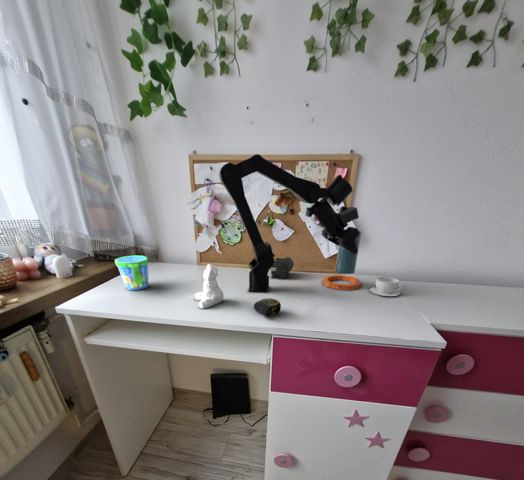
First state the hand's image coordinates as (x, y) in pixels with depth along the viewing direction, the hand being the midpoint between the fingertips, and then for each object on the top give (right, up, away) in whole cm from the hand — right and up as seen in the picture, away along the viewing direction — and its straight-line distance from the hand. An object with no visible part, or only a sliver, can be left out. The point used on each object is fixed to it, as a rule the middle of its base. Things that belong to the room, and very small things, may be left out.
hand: (351, 250), depth 98 cm
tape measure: (-31, -25, -18) cm, 44 cm away
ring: (-2, -10, +7) cm, 13 cm away
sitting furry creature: (-49, -20, -10) cm, 54 cm away
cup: (-2, -7, +3) cm, 8 cm away
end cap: (-24, -5, +16) cm, 29 cm away
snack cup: (-78, -13, +2) cm, 79 cm away
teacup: (+11, -15, -1) cm, 19 cm away
